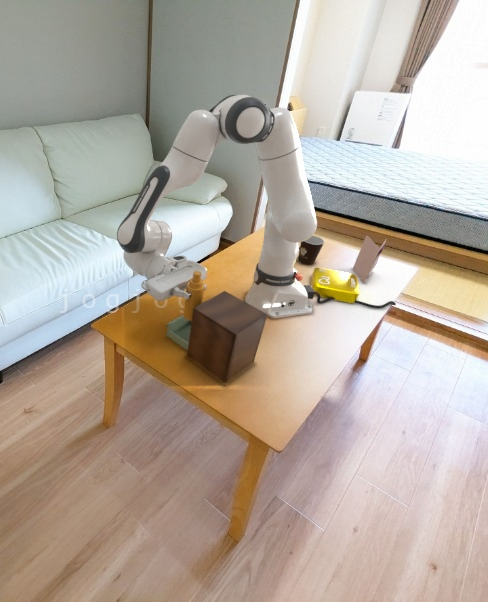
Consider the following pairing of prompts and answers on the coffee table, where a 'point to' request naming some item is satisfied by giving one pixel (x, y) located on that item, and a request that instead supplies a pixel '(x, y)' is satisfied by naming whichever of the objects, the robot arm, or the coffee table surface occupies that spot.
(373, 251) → the greeting card
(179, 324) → the green pull-out drawer
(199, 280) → the bottle
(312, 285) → the element tile
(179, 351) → the coffee table surface
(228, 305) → the cabinet
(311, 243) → the coffee mug
